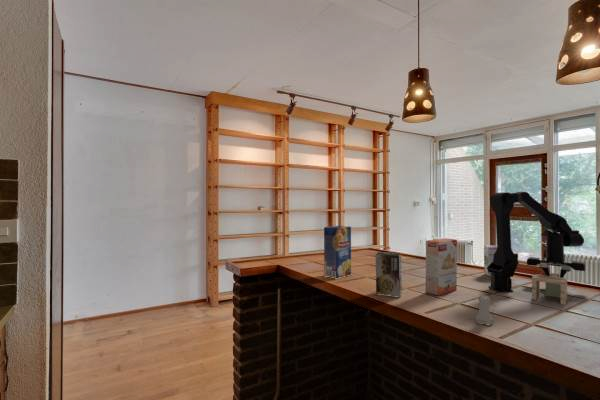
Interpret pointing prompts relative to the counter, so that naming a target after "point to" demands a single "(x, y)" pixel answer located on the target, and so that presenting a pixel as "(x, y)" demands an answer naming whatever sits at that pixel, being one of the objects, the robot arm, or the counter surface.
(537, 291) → the shelf lane
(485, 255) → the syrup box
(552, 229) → the robot arm
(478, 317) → the rook chess piece
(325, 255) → the blue food box
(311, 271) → the counter surface
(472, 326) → the counter surface
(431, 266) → the cracker box
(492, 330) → the counter surface
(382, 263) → the coffee box
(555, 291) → the tethered block
